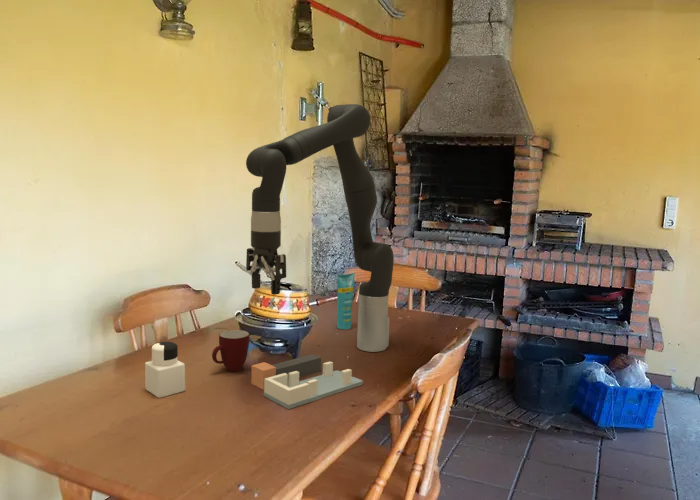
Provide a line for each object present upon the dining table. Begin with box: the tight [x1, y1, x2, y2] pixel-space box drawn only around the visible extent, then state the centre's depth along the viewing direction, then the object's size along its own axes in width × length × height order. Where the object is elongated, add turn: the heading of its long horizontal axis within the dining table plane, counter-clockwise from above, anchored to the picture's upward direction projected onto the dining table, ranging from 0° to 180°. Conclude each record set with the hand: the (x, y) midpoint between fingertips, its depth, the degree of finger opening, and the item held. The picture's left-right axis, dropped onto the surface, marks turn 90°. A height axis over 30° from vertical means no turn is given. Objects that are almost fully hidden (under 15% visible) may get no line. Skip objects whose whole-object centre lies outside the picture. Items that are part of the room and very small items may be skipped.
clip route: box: [263, 361, 364, 410], centre depth 150 cm, size 24×10×4 cm, turn 134°
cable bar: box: [250, 353, 322, 390], centre depth 158 cm, size 20×5×5 cm, turn 134°
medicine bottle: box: [144, 341, 186, 399], centre depth 146 cm, size 7×7×12 cm
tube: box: [336, 272, 356, 330], centre depth 205 cm, size 7×5×19 cm, turn 134°
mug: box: [211, 329, 250, 373], centre depth 161 cm, size 10×8×10 cm
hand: (265, 291), depth 153 cm, fingers open, 8 cm apart
